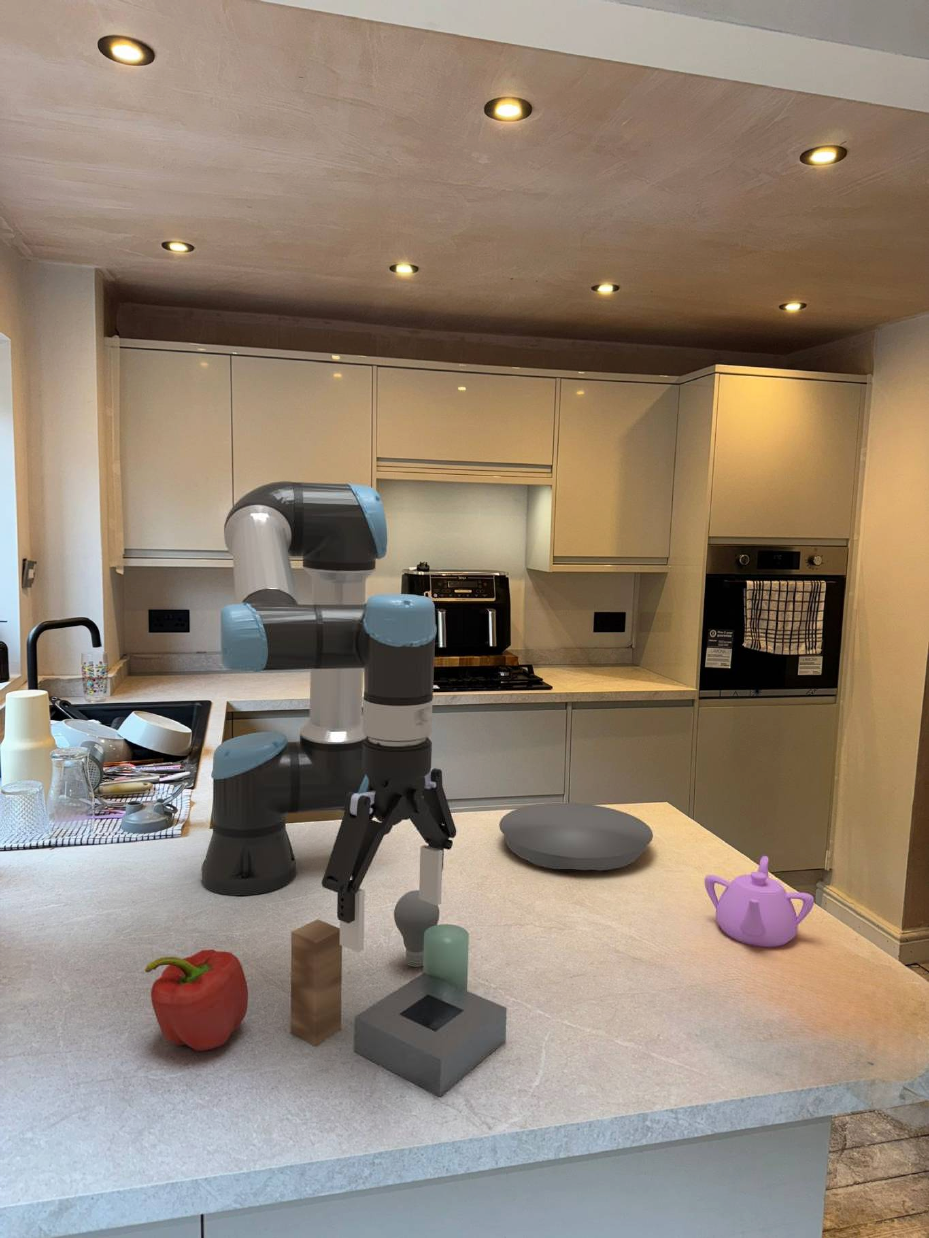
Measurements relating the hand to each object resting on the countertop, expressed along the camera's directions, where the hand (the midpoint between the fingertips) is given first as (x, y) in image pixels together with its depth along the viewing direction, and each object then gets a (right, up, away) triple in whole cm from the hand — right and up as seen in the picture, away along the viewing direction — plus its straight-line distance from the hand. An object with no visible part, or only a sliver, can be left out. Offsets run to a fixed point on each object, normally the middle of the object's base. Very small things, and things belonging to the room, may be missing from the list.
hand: (393, 923), depth 92 cm
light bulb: (+2, -12, +17) cm, 21 cm away
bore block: (+4, -14, 0) cm, 14 cm away
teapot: (+51, -12, +29) cm, 60 cm away
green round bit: (+6, -13, +10) cm, 17 cm away
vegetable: (-22, -13, 0) cm, 26 cm away
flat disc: (+28, -9, +60) cm, 67 cm away
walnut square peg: (-9, -13, +2) cm, 16 cm away
